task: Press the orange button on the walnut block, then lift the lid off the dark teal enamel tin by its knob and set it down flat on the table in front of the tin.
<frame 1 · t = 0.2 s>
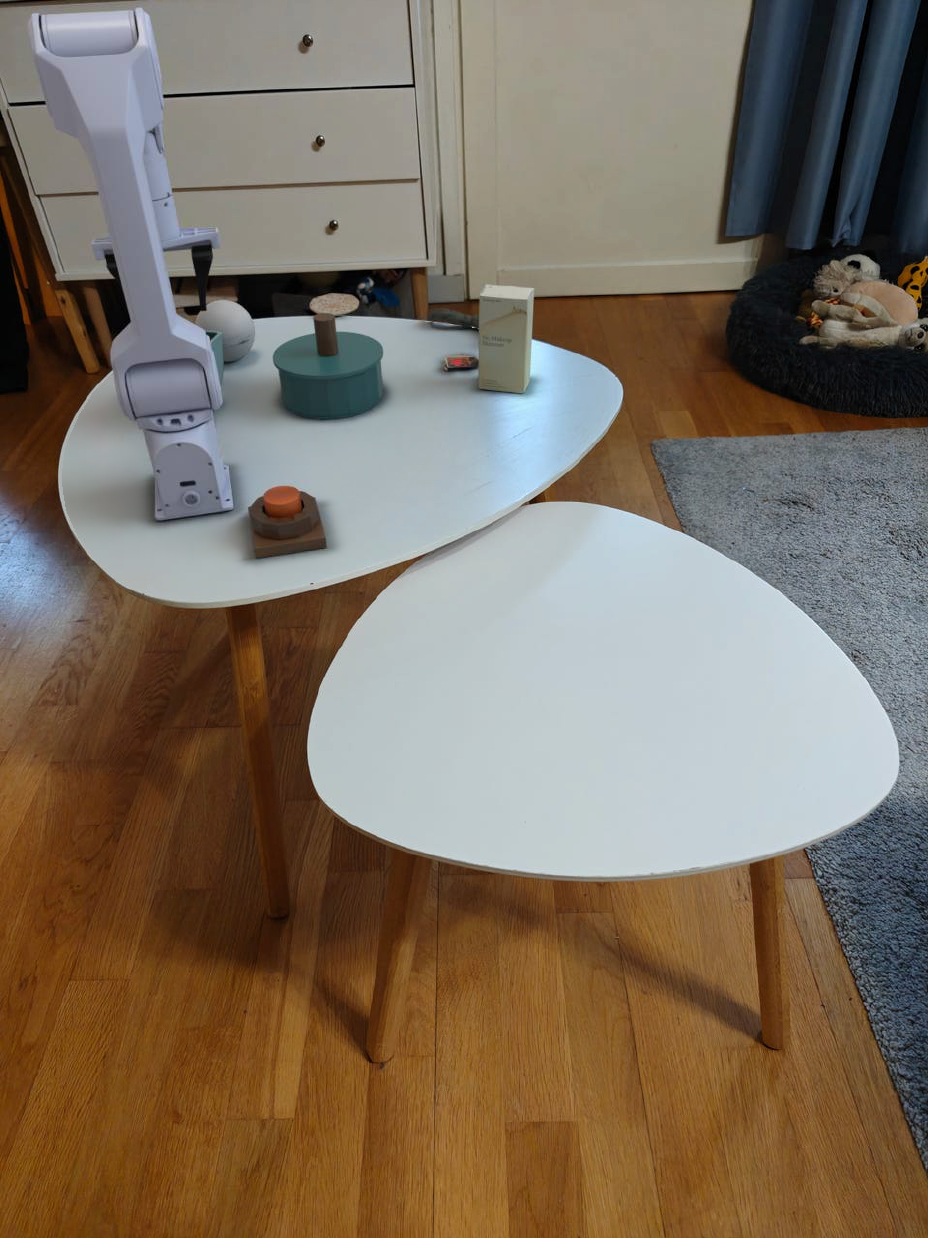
hand: (172, 311, 118), 10 cm above the table, tool pointing down, fingers open, 7 cm apart
flower pot: (189, 413, 118), on the table
button block: (287, 531, 96), on the table
tin lid: (328, 356, 117), point 5 cm above the table, touching tin
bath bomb: (230, 360, 131), on the table
button: (282, 502, 94), point 3 cm above the table, slide at 0.1 cm
tin: (333, 396, 121), on the table
flatbread: (334, 309, 145), on the table
toy: (463, 304, 135), point 4 cm above the table
cosmetic box: (505, 386, 123), on the table
matchbox: (461, 364, 128), on the table
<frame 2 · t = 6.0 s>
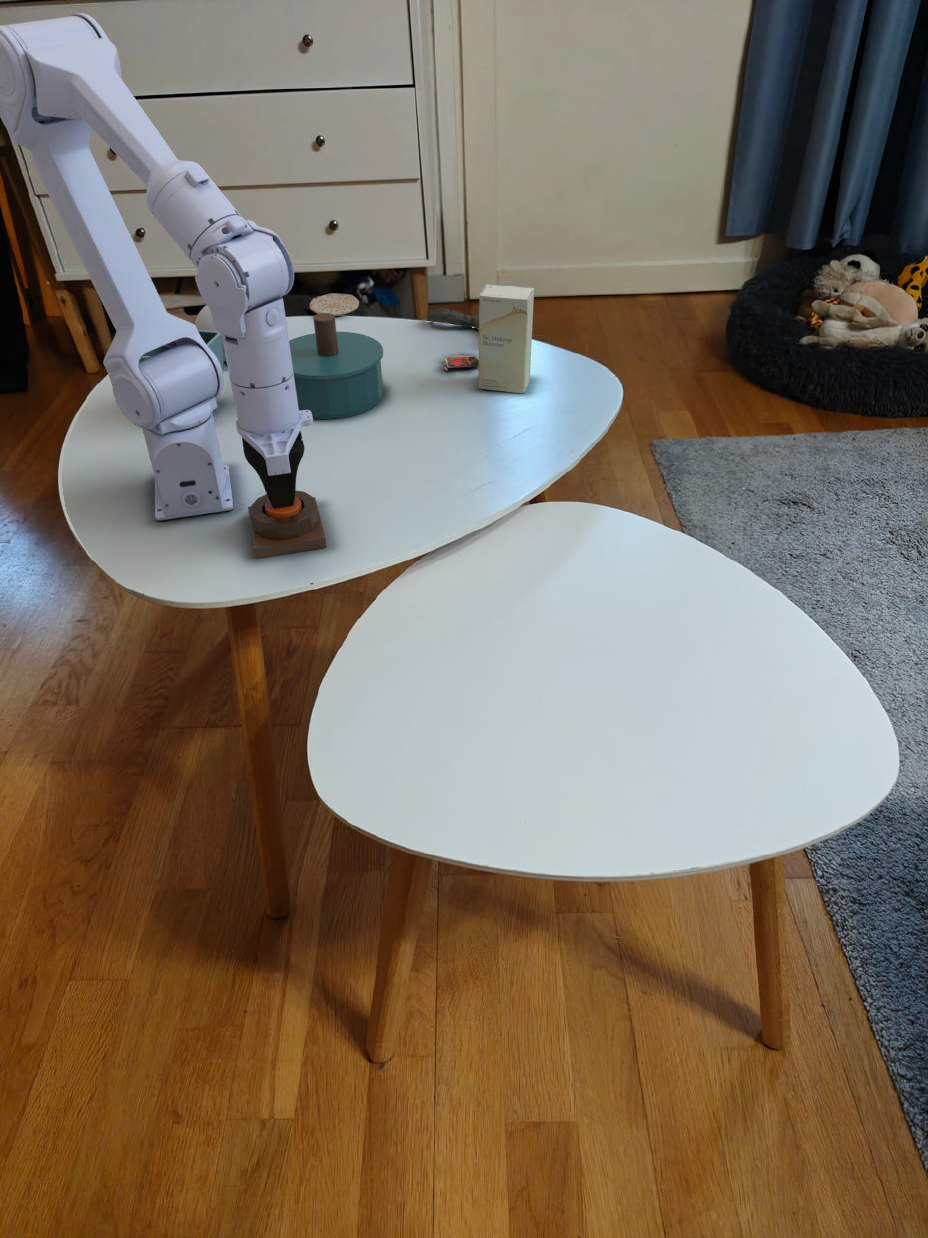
hand: (282, 503, 94), 3 cm above the table, tool pointing down, fingers closed, pressing on button
button: (283, 511, 95), point 2 cm above the table, slide at -0.9 cm, touching gripper
everything else where it was.
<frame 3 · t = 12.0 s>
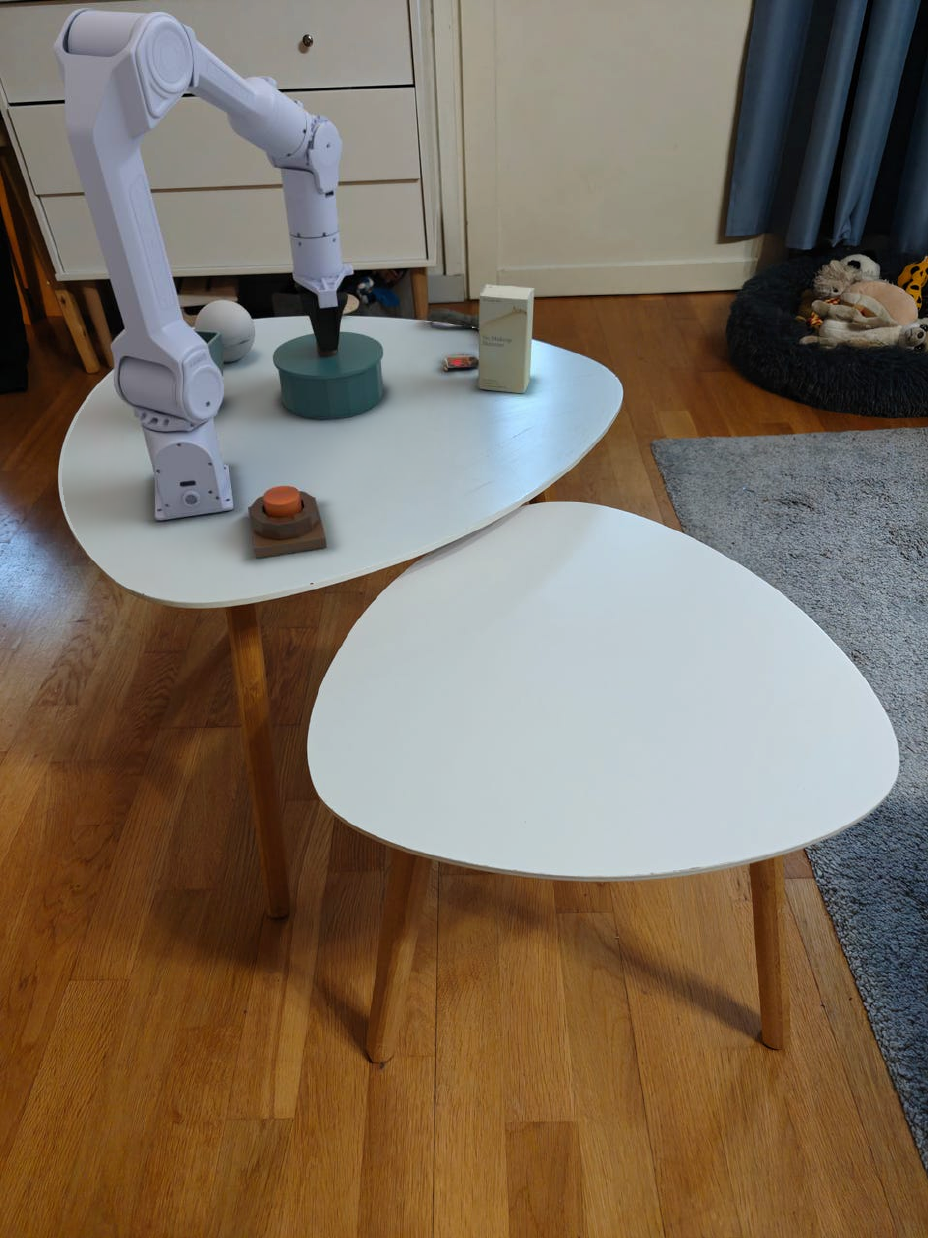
hand: (327, 345, 116), 7 cm above the table, tool pointing down, fingers closed on tin lid, 2 cm apart
tin lid: (328, 356, 117), point 5 cm above the table, touching gripper, tin
button: (282, 502, 94), point 3 cm above the table, slide at 0.1 cm
everything else where it was.
when the fingers open (2 cm above the table, at t = 16.5 s): tin lid stays where it is, point 1 cm above the table.
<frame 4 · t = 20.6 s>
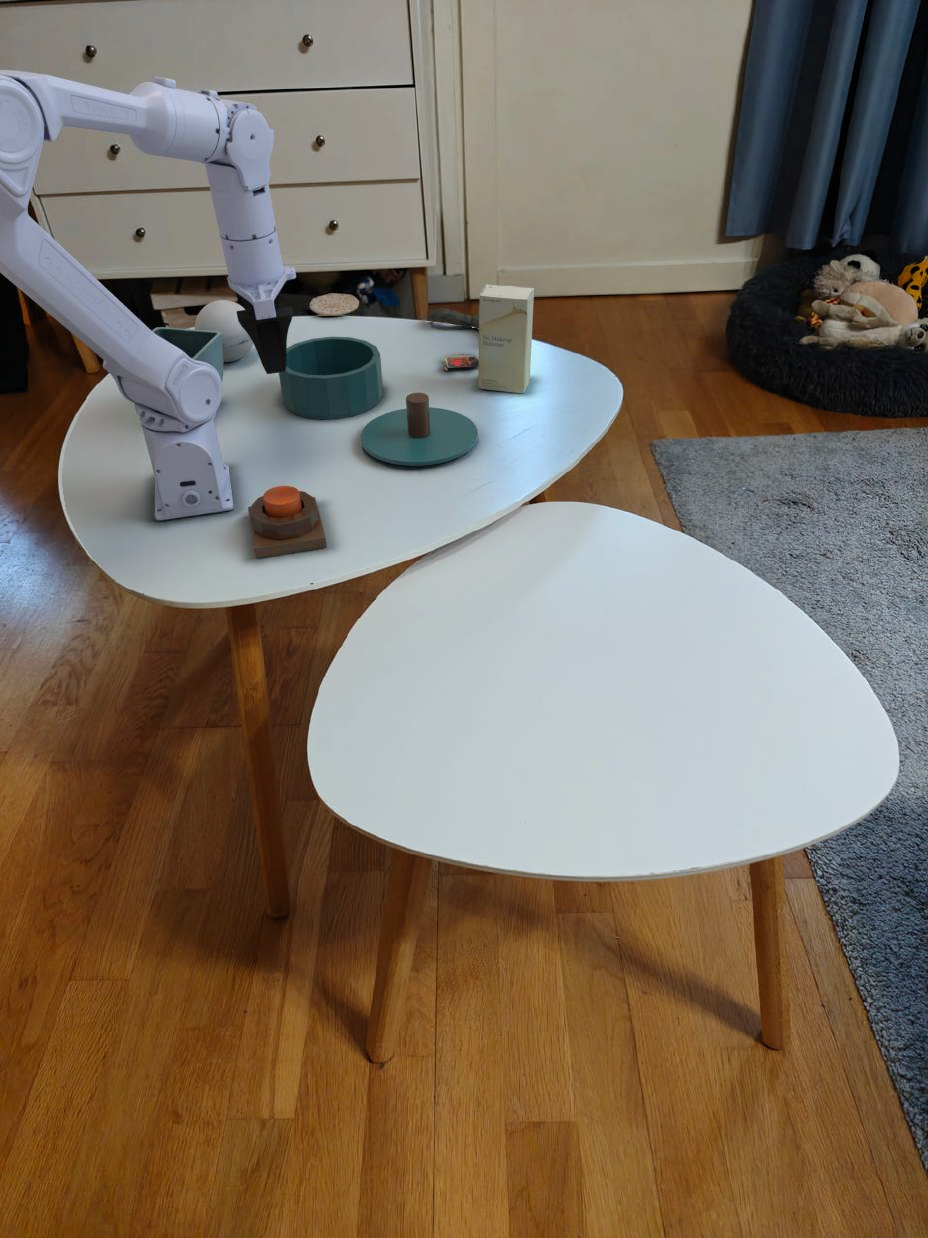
hand: (272, 356, 105), 10 cm above the table, tool pointing down, fingers open, 7 cm apart
tin lid: (419, 436, 110), point 1 cm above the table
everything else where it was.
at the end: button pushed in 1.2 cm at the most during the clip, back to where it started at the end; tin lid inside the target area (0.1 cm from its centre), point 0.6 cm above the table; tin lid tilted 0° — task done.
